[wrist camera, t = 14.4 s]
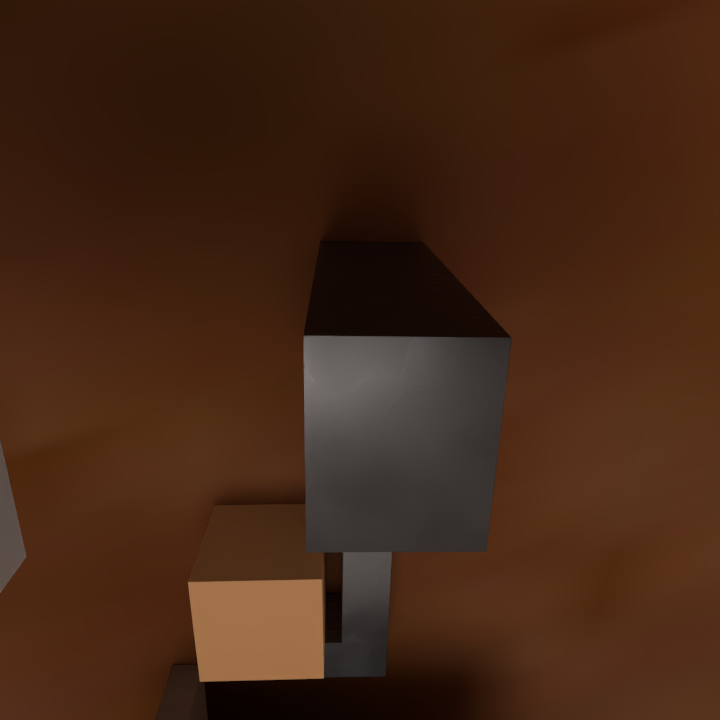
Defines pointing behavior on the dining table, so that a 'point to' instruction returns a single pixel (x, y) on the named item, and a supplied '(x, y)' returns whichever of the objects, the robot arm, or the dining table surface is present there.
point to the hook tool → (394, 427)
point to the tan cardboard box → (183, 695)
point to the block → (258, 596)
